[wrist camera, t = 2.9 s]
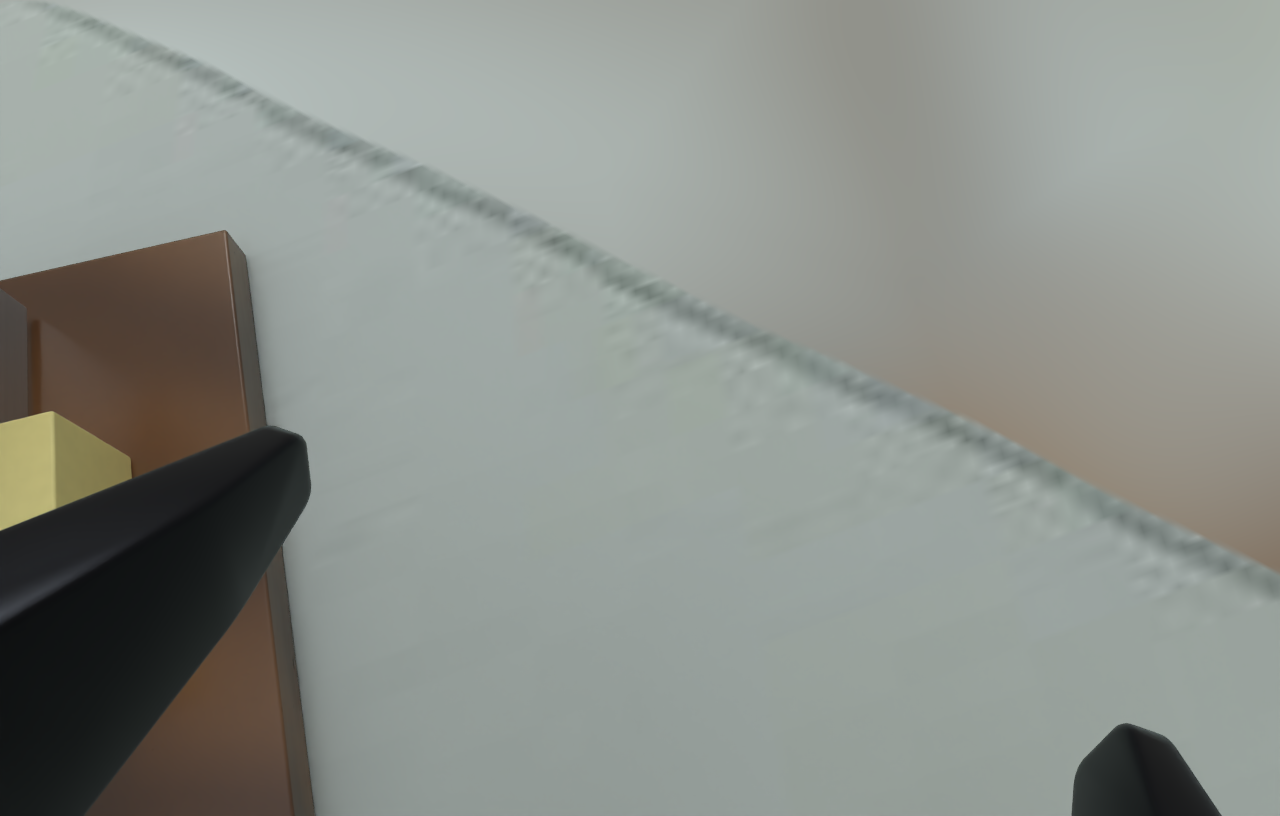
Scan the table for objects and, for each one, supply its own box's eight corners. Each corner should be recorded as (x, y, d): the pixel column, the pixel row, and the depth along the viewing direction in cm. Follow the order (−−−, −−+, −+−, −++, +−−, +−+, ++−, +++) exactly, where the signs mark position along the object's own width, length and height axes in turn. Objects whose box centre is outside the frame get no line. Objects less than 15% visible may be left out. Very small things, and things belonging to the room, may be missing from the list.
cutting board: (329, 925, 21) (307, 937, 19) (-193, 1090, 20) (-257, 1116, 18) (246, 254, 28) (226, 228, 27) (-138, 342, 27) (-180, 319, 26)
